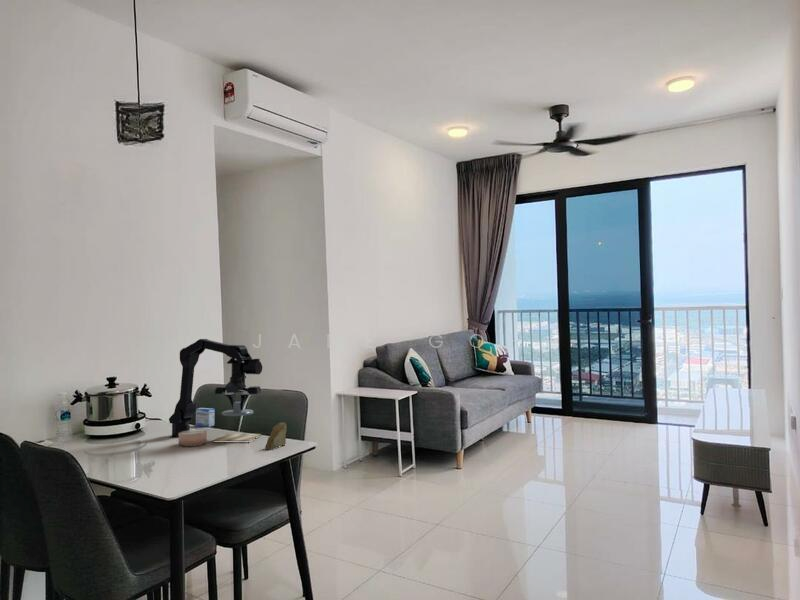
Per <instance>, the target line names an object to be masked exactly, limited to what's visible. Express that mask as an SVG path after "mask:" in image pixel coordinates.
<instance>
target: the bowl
mask: <svg viewBox="0 0 800 600" xmlns="http://www.w3.org/2000/svg"><path fill="white" fill-rule="evenodd" d="M207 434H208V431H207V430H205V429H190V430H188V431H182V432H179V437H177V438H178V442H177V443H178V445H181V446H182V447H187V446H190V447H198V446H197V445H199V446H202V445H203V444H204V443H206V442H207V441H208V439H207V438H208V435H207ZM202 443H203V444H202ZM201 444H202V445H201Z"/></svg>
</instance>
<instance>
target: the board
mask: <svg viewBox="0 0 800 600" xmlns="http://www.w3.org/2000/svg"><path fill="white" fill-rule="evenodd" d="M246 434H247V433H225V434H223V435H221V436H218V437H217V438H214V439H213V440H212V442H213V441H251V440H253V439H254V438H256V437H257V436H261V437H262V433H249V434H250V435H246ZM251 435H257V436H251Z"/></svg>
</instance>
